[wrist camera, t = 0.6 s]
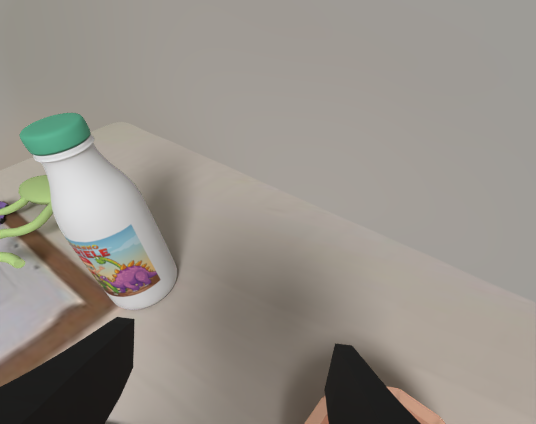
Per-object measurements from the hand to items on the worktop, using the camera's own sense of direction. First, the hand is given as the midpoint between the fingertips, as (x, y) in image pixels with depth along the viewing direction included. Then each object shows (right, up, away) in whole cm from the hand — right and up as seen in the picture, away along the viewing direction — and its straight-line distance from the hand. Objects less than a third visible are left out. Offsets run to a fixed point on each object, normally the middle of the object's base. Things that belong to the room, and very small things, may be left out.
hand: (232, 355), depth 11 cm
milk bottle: (-13, -3, +26) cm, 29 cm away
